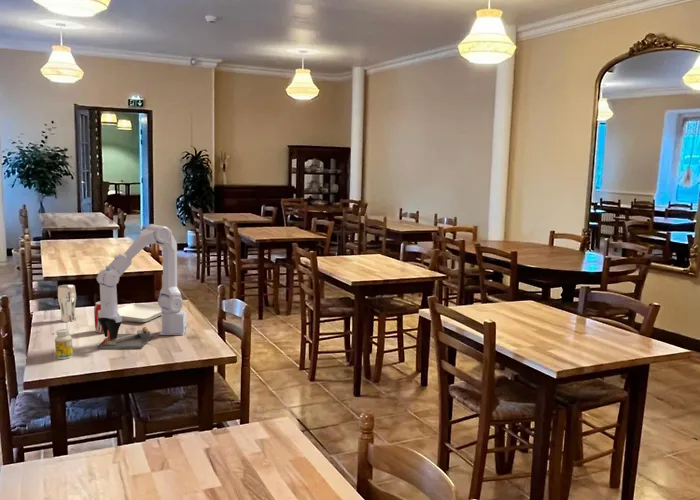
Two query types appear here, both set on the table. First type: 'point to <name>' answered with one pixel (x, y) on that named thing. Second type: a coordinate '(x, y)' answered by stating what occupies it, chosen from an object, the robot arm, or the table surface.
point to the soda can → (97, 324)
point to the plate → (127, 341)
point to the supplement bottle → (63, 344)
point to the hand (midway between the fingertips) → (110, 337)
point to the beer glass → (67, 302)
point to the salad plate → (139, 312)
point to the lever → (124, 336)
